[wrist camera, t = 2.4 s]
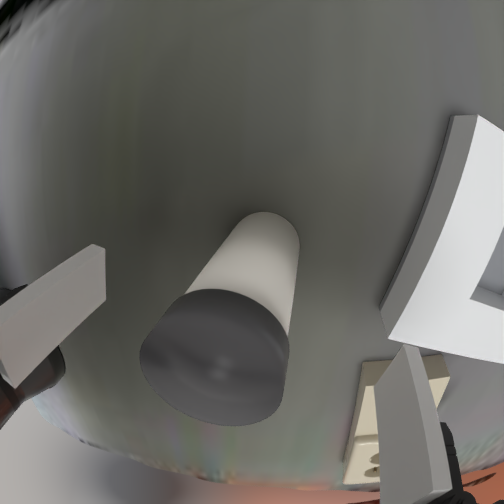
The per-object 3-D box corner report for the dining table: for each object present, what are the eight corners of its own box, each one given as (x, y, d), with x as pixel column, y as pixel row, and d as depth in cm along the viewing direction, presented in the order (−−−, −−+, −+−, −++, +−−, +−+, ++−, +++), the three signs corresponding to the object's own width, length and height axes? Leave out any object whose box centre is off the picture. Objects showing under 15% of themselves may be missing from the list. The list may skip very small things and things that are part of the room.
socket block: (378, 307, 20) (387, 338, 17) (450, 115, 14) (478, 115, 11) (501, 340, 19) (516, 366, 15) (567, 198, 13) (593, 211, 10)
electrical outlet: (453, 384, 17) (400, 479, 24) (440, 351, 21) (398, 453, 27) (366, 395, 19) (342, 485, 25) (362, 358, 22) (342, 458, 29)
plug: (223, 266, 21) (141, 397, 10) (237, 200, 19) (139, 301, 8) (289, 286, 20) (260, 438, 10) (311, 222, 18) (305, 355, 8)
